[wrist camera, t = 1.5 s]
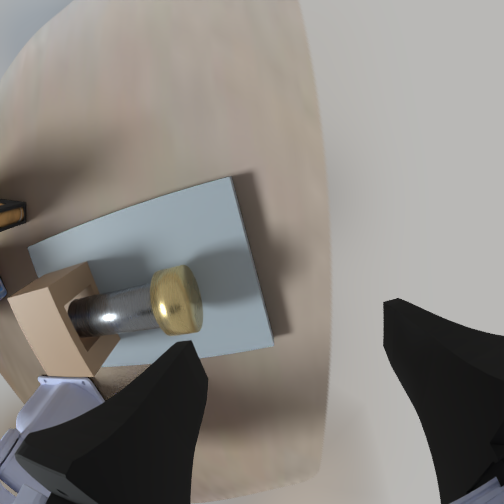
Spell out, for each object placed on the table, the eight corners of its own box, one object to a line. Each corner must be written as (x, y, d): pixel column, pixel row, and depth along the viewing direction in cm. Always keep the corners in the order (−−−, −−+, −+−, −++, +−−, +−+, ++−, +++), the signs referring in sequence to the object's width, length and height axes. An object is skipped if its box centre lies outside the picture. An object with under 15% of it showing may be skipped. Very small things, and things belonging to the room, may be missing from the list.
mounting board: (87, 360, 23) (58, 400, 17) (35, 243, 19) (-12, 266, 13) (273, 336, 21) (277, 392, 15) (231, 176, 18) (217, 180, 12)
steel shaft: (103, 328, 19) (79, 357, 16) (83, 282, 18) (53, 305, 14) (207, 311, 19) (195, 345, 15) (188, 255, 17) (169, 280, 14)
